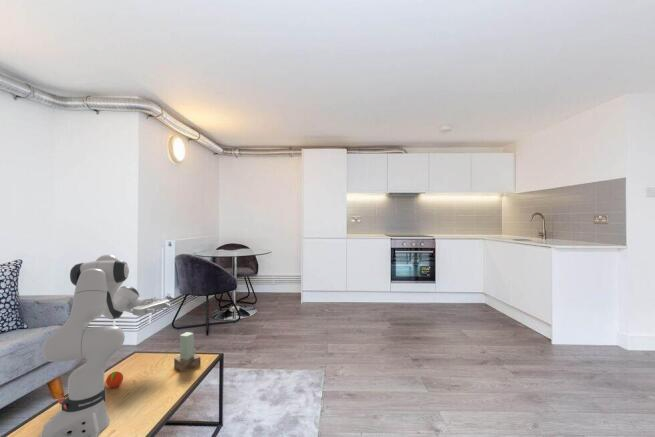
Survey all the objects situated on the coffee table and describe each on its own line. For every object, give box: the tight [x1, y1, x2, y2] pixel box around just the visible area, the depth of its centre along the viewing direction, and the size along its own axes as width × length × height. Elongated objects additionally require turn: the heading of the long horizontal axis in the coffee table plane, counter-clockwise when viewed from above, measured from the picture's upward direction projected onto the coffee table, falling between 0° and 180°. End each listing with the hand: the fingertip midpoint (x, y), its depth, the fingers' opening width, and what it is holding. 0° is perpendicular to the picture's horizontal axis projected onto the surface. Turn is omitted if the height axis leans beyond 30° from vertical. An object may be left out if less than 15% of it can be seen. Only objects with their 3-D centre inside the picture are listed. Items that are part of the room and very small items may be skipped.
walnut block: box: [173, 352, 202, 373], centre depth 173 cm, size 10×10×4 cm
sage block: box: [179, 331, 195, 360], centre depth 173 cm, size 5×5×13 cm
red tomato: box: [105, 371, 124, 388], centre depth 153 cm, size 8×7×7 cm
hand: (162, 308), depth 173 cm, fingers open, 8 cm apart
